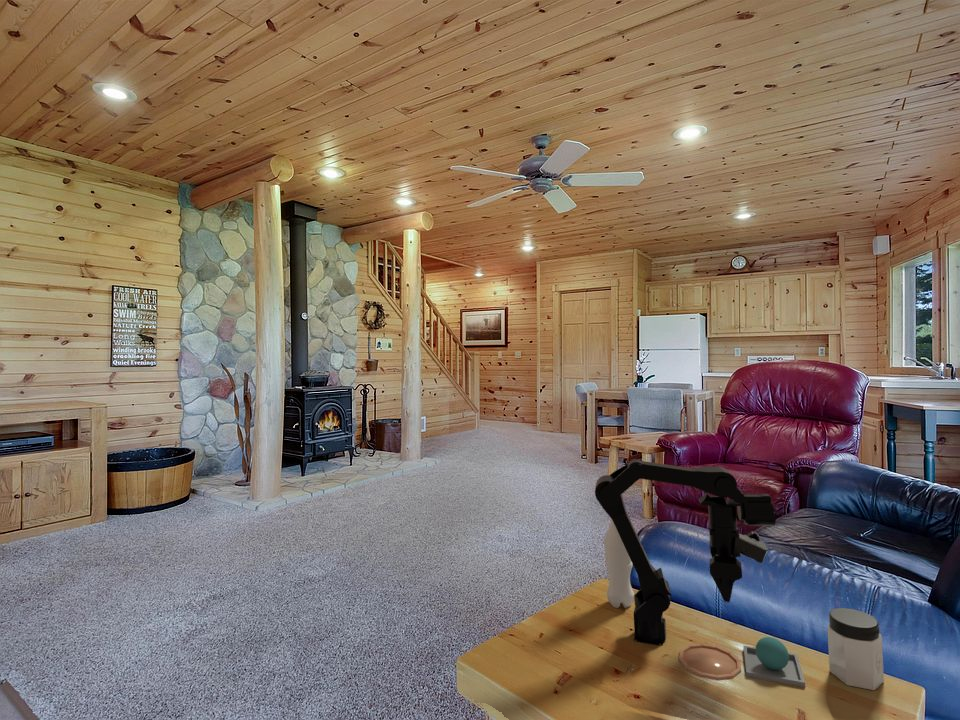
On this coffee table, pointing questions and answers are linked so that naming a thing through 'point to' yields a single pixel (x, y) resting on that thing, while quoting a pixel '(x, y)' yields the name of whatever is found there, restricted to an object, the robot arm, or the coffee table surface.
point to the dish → (710, 661)
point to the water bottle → (618, 569)
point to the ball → (772, 653)
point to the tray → (786, 675)
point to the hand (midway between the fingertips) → (726, 592)
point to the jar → (855, 648)
